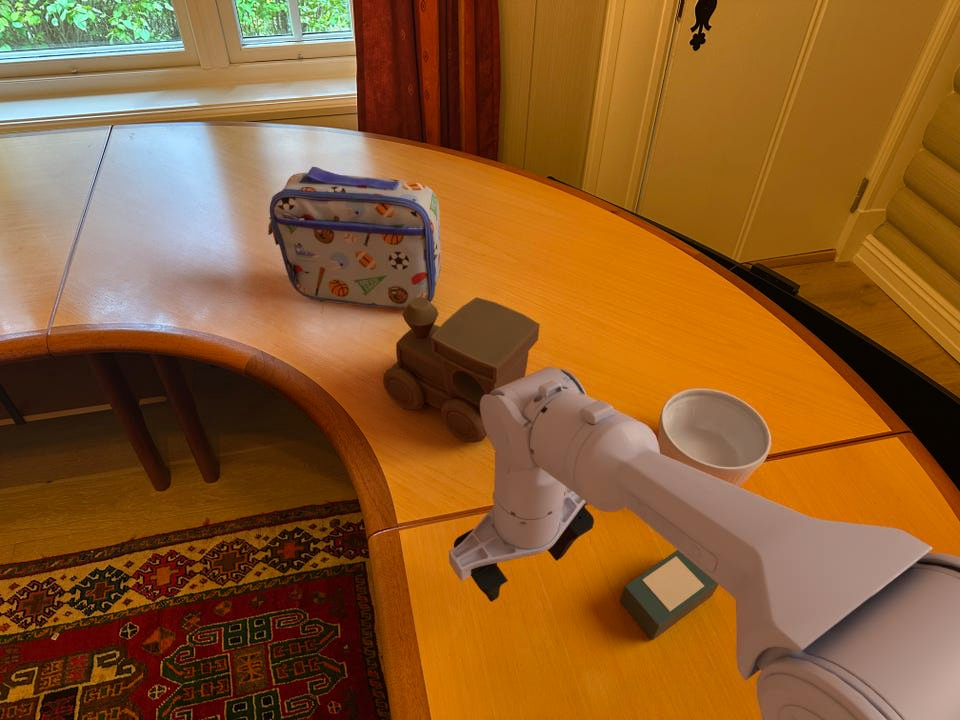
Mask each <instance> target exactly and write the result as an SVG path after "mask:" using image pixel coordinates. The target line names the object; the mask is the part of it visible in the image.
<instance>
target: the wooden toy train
mask: <svg viewBox="0 0 960 720" xmlns="http://www.w3.org/2000/svg"><path fill="white" fill-rule="evenodd" d="M438 316H439V311H438V308H437V307H436V306H435V305H434V304H433V303H431V302H429V301H428V300H427V299H425V298H421V297H419V298H414V299H413V300H411V302H410V303H409V305H408V306H407V307H406V309H404V311H403V313H402V317H403V320H404V322H405V323H406V324H407V326H408V327H409V328H410V329H409V330H408V331H406V332H405V333H404V334H403V336H401V338H400V339H398V341H397V342H396V343H395V351H396V352H395V353H396V360H397V361H396V362H395V363H394V364H393V365H392V366H390V367H389V368H387V369H386V370H385V372H384V373H383V376H382V383H383V387H384V391H385V392H386V393H387V395H388V397H389V398H390V400H392V401H393V402H394V404H396V405H397V406H399V407H400V408H403V409H404V410H410V411H414V410H418V409H421V408H422V407H423V406H424V403H427V404H429V405H431V406H433V407H434V408H436V409H439V410H441V417H442V422H443V423H444V425H445V427H446V428H447V429H448V431H449V432H450V433H451V434H452V435H454V436H455V438H457V439H459V440H461V441H463V442H465V443H471V444H475V443H480V442H482V441H484V440H485V438H486V436H487V434H486V431H485V428H484V425H483V422H482V418H481V413H480V401H481V398H482V397H483V396H484V395H486V394H490V392H491V391H492V390H494V389H497V388H499V387H501V386H504V385H506V384H508V383H511V382H513V381H515V380H518V379H520V378H523V377H525V376H526V372H527V367H528V360H529V351H530V350H531V349H532V348H533V347H534V345H535V344H536V343H537V342H538V341H539V336H540V323H539V322H537V321H535V320H533V319H532V318H531V317H529V316H527V315H525V314H523V313H522V312H519V311H516V310H514V309H512V308H509V307H507V306H505V305H503V304H500V303H497V302H495V301H491V300H488V299H484V298H481V297H477V296H476V297H474V298H473V299H471V300H470V301H469V302H467V303H465V304H463V306H461V307H460V308H459V309H458V310H456V311H455V312H454V313H453V314H452V315H451V316H449V318H447V319H446V320H445V321H444V322H443V323H442V324H441V325H437V324H435V323H436V321H437V319H438Z"/></svg>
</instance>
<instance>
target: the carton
mask: <svg viewBox="0 0 960 720" xmlns="http://www.w3.org/2000/svg"><path fill="white" fill-rule="evenodd" d="M719 586H720V585H719V584H718V583H717V582H715V581H714V580H713V579H712V578H711V577H710V576H708V575H707V574H706V573H705V572H704V571H702V570H701V569H700V568H699V567H698V566H696V565H695V564H694V563H693V562H692V561H690V560H689V559H688V558H687V557H686V556H684V555H683V554H682V553H681V552H680V551H679V550H677V549H676V550H675V551H673V552H672V553H671V554H669V555H668V556H667V557H665V558H663V559H662V560H660V561H658V562H657V563H656V564H655V565H653V566H651V568H648V570H646V571H645V572H643V573H642V574H640V575H639V576H637V577H636V578H634V579H633V580H631V581H630V582H628V583H627V584H626V585H624V588H623V590H622V593H621V596H620V599H619V603H620V604H621V605H622V606H623V607H624V608H625V609H626V611H627V612H628V614H630V616H631V617H632V618H633V619H634V620H635V622H636V623H637V624H638V625H639V627H640V628H641V629H642V630H643V632H644V633H645V634H646V636H648V638H649V639H650V640H652V641H654V640H656V638H658V637H659V636H660V635H662V634H663V633H665V632H666V631H667V630H669V629H670V628H671V627H673V626H674V625H675V624H676V623H678V622H680V621H681V620H682V619H683V618H685V617H686V616H687V615H689V614H690V613H691V612H693V611H694V610H695V609H697V608H698V607H699V606H700V605H702V604H704V603H705V602H706V601H708V599H710V598H711V597H712V596H714V594H715V592H716V589H717V588H718V587H719Z"/></svg>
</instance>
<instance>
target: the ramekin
mask: <svg viewBox="0 0 960 720" xmlns="http://www.w3.org/2000/svg"><path fill="white" fill-rule="evenodd" d="M657 441H658V444H659V449H660V454H662V455H665V456H667V457H669V458H672V459H674V460H676V461H679V462H681V463H683V464H686V465H688V466H690V467H693V468H695V469H698V470H700V471H702V472H705V473H707V474H709V475H712V476H714V477H716V478H719V479H721V480H724V481H726V482H728V483H731V484H733V485H735V486H738V487H740V486H742V485H743V484H745V482H746V481H747V480H748V479H749V478H750V477H751V475H752V474H753V473H754V472H755V470H757V469H758V468H759V467H760V466H761V465H762V464H763V463H764V462H765V461H766V459H767V457H768V455H769V453H770V450H771V447H772V435H771V432H770V429H769V427H768V425H767V422H766V421H765V419H764V418H763V416H762V415H761V414H760V413H759V412H758V411H757V410H756V409H755V408H753V407H752V405H750V404H748V403H747V402H746V401H744V400H742V399H741V398H739V397H737V396H735V395H732V394H731V393H728V392H725V391H721V390H718V389H712V388H701V387H700V388H699V387H698V388H697V387H696V388H689V389H685V390H682V391H679V392H676V393H675V394H673V395H672V396H670V397H669V398H668V399H667V400H666V402H665V403H664V404H663V406H662V409H661V411H660V414H659V419H658V433H657Z"/></svg>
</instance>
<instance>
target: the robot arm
mask: <svg viewBox="0 0 960 720" xmlns="http://www.w3.org/2000/svg"><path fill="white" fill-rule="evenodd" d="M480 413H481V418H482V422H483V425H484V428H485V431H486V436H487V438H488V440H489V442H490V444H491V446H492V448H493V449H494V479H493V480H494V483H493V484H494V485H493V488H494V489H493V492H492V499H493V506H492V507H491V508H490V509H489V510H488V512H487V513H486V514H485V515H484V516H483V518H482V519H481V520H480V521H479V522H478V524H476V525H475V527H474V528H472V529H470V530H468V531H466V532H464V533H462V534H461V535H459V536H458V537H456V538H455V540H454V542H453V548H452V549H451V550H449V551H448V562H449V565H450V566H451V568H452V570H453V572H454V573H455V574H456V576H457V577H458V579H459V580H460V581H461V582H463V581H465V580H466V579H468V578H470V577H471V578H472V580H473V581H474V583H475V584H476V586H477V588H478V589H479V590H480V591H481V592H482V593H483V594H484V595H485V596H486V597H487V599H488V601H489V602H491V603H492V602H495V600H497V599H499V597H500V590H501V587H502V585H504V584H506V583H507V582H509V579H508V578H507V577H506V575H505V574H504V573H503V571H502V570H501V568H500V567H499V566H498V563H503V562H508V561H512V560H518V559H522V558H527V557H532V556H537V555H540V554H542V553H545V552H547V551H548V552H549V554H550V555H551V556H552V558H553V559H554V560H555V561H556V562H557V561H559V560H560V559H562V558H563V557H564V556H565V555H566V553H567V552H568V551H569V549H570V548H571V546H572V545H573V544H574V543H575V542H576V540H577V539H578V538H580V537H582V536H583V535H584V534H586V533H588V532H589V531H591V530H593V528H594V523H595V518H594V516H593V515H592V514H591V513H590V511H589V510H588V508H586V506H589V505H590V506H592V507H593V508H594V509H596V510H598V511H602V512H606V513H615V512H619V511H622V510H625V509H628V510H629V511H631V512H632V513H633V514H634V515H636V517H638V518H639V519H640V520H642V522H644V523H645V524H646V525H647V526H649V527H650V528H651V529H652V530H653V531H654V532H656V533H657V534H658V535H659V536H661V537H662V538H663V539H664V540H665V541H666V542H668V543H669V544H670V545H671V546H672V547H674V548H675V549H676V551H677V550H679V551H680V552H681V553H682V554H683V555H684V556H686V557H687V558H688V559H689V560H690V561H692V562H693V563H694V564H695V565H696V566H698V567H699V568H700V569H701V570H702V571H704V572H705V573H706V574H707V575H708V576H710V577H711V578H712V579H713V580H714V581H715V582H717V583H718V584H719V585H718V586H720V587H721V588H722V589H724V590H725V591H726V592H727V593H728V594H730V595H731V597H733V599H734V601H735V614H736V615H735V619H736V620H735V622H736V623H735V624H736V647H735V648H736V652H735V653H736V666H737V670H738V672H739V674H740V676H741V678H743V680H744V681H747V680H749V679H750V678H751V677H753V676H754V675H755V674H757V673H758V672H759V671H760V672H759V674H758V676H757V680H756V697H757V701H758V707H759V710H760V715H761V719H762V720H960V556H957V555H953V554H947V553H940V552H931V551H932V550H933V547H932V546H931V545H929V544H928V543H925V542H924V541H922V540H921V539H919V538H917V537H915V536H914V535H912V534H910V533H909V532H907V531H905V530H902V529H900V528H896V527H889V526H882V525H880V526H879V525H871V524H863V523H855V522H847V521H846V522H845V521H839V520H828V519H823V518H817V517H812V516H809V515H806V514H804V513H802V512H799V511H796V510H794V509H792V508H789V507H787V506H784V505H783V504H780V503H778V502H776V501H773V500H770V499H769V498H766V497H764V496H761V495H760V494H759V495H758V494H757V493H754V492H752V491H750V490H747V489H745V488H742V487H740V486H739V487H738V486H735V485H733V484H731V483H728V482H726V481H724V480H721V479H719V478H716V477H714V476H712V475H709V474H707V473H705V472H702V471H700V470H698V469H695V468H693V467H690V466H688V465H686V464H683V463H681V462H679V461H676V460H674V459H672V458H669V457H667V456H665V455H662V454H660V449H659V444H658V437H657V436H656V434H655V433H654V431H653V429H652V428H650V426H648V425H647V424H645V423H644V422H641V421H640V420H638V419H636V418H634V417H632V416H630V415H627V414H625V413H624V412H621V411H620V410H617V409H616V408H614V406H613V405H612V404H610V403H607V402H605V401H604V400H601V399H598V400H597V399H595V398H593V397H591V396H588V395H587V393H586V390H585V388H584V386H583V385H582V383H581V382H580V381H579V380H578V378H577V377H576V376H575V375H574V374H573V373H572V372H570V371H569V370H566V369H565V368H564V369H563V368H559V369H558V368H557V367H555V366H546V367H544V368H541V369H539V370H537V371H534V372H532V373H530V374H527V375H525V377H523V378H520V379H518V380H515V381H513V382H511V383H508V384H506V385H504V386H501V387H499V388H497V389H494V390H492V391H491V392H490V394H486V395H484V396H483V397H482V398H481V401H480Z"/></svg>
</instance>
